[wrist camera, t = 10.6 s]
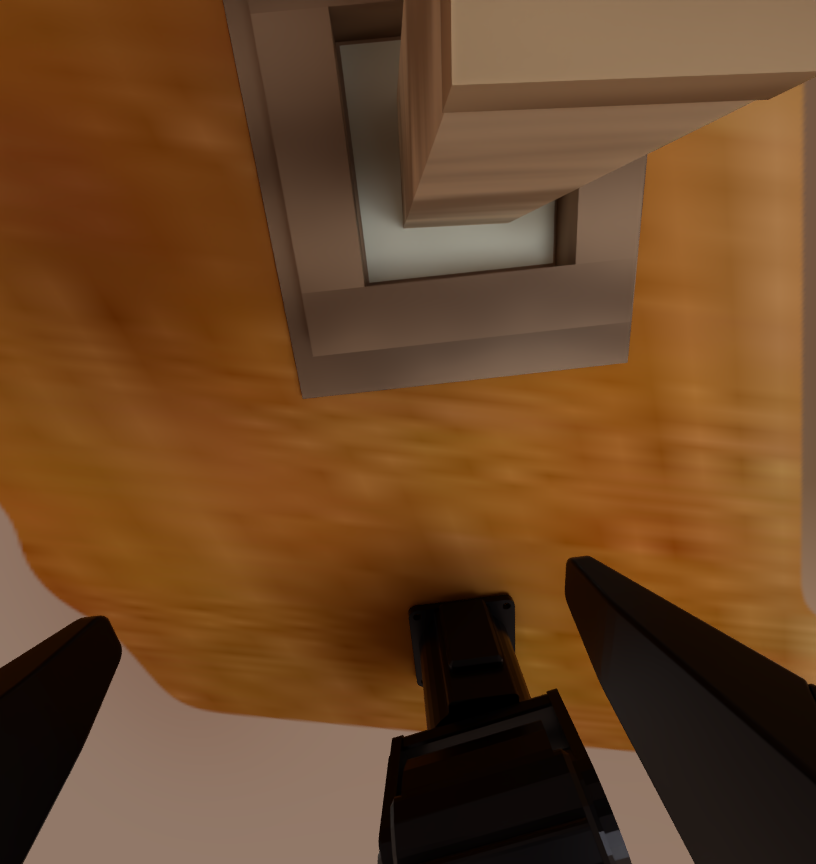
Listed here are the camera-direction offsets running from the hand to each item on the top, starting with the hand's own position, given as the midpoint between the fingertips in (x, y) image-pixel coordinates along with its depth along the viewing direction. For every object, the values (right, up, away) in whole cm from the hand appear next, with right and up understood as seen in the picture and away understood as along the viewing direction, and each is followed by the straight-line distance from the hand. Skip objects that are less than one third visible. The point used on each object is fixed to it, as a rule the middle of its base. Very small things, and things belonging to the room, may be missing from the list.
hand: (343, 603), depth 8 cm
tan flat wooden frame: (+3, +14, +9) cm, 17 cm away
